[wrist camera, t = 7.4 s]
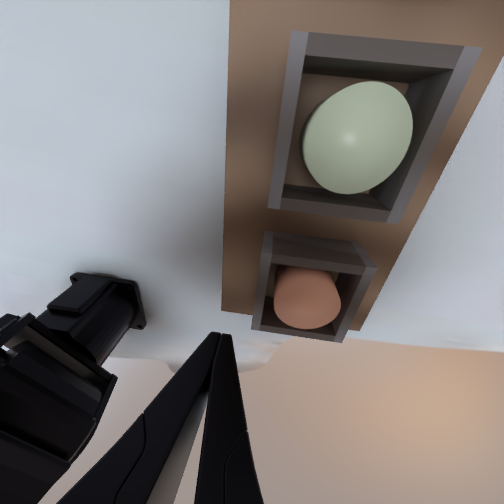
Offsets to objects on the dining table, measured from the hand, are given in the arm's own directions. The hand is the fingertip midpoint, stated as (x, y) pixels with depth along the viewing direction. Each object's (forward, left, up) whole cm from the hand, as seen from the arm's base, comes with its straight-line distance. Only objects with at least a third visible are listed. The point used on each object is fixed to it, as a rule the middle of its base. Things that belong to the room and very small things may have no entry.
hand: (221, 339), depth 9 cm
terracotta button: (-2, -4, -7) cm, 9 cm away
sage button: (+7, -4, -7) cm, 11 cm away
